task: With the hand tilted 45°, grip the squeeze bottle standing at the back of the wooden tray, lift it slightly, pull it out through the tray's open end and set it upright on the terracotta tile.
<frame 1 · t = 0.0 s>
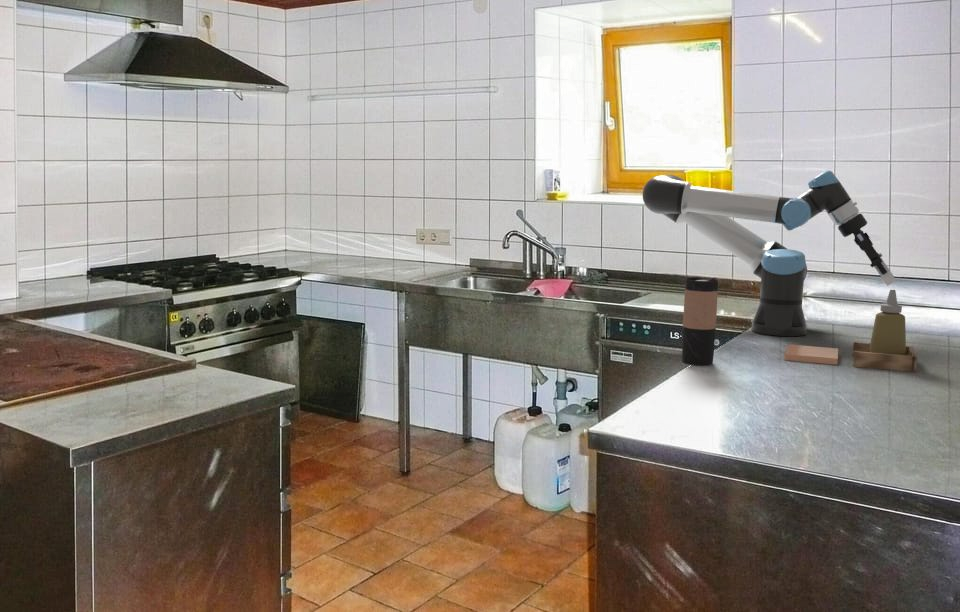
hand: (890, 280, 258), 15 cm above the worktop, tool tilted 35°, fingers open, 13 cm apart
terracotta tile: (811, 357, 223), on the worktop
squeeze bottle: (886, 364, 217), resting in wooden tray
wooden tray: (881, 363, 217), on the worktop
travel mug: (697, 363, 214), on the worktop
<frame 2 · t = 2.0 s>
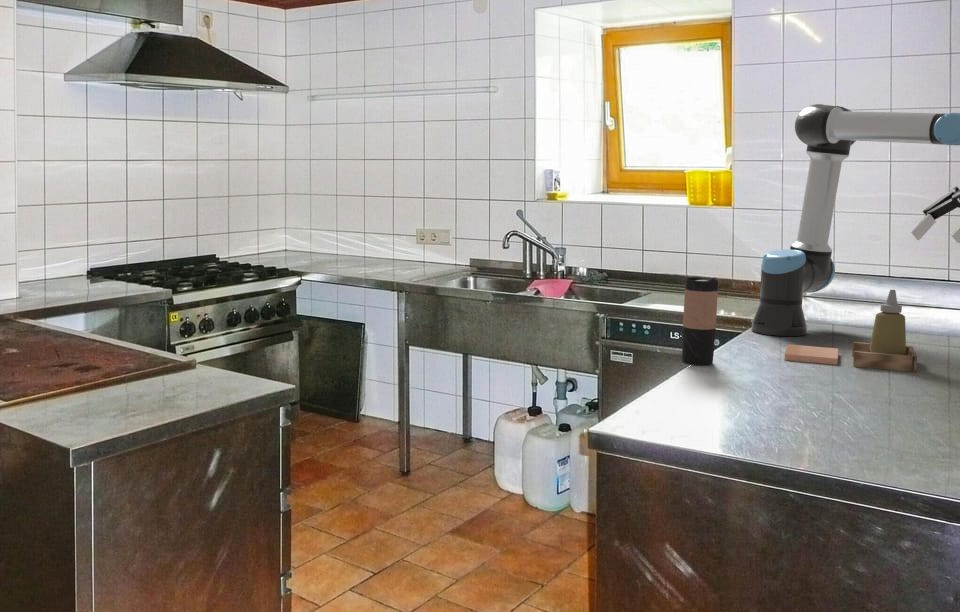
hand: (934, 237, 219), 30 cm above the worktop, tool tilted 45°, fingers open, 13 cm apart
nothing on the worktop moved.
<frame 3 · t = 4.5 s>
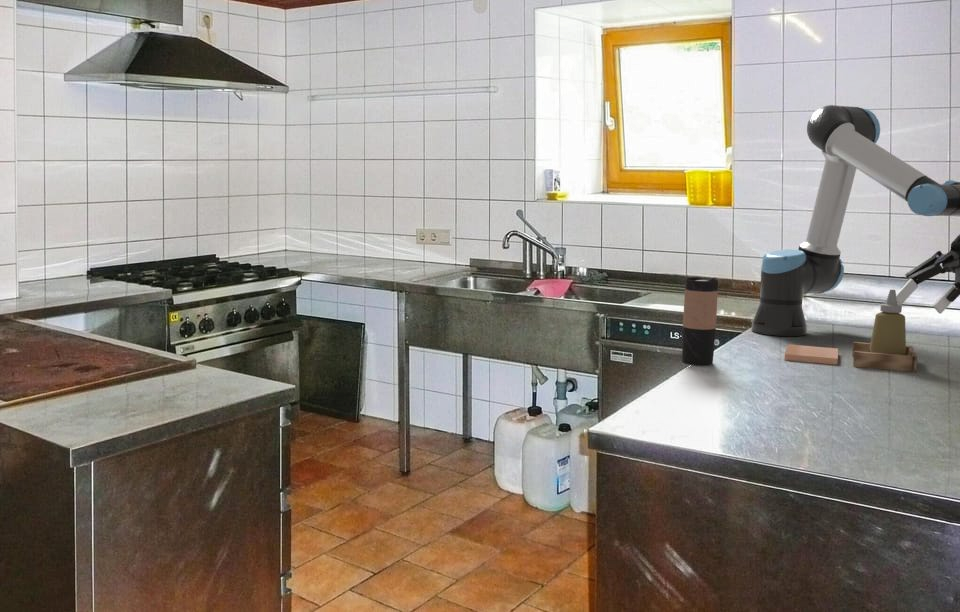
hand: (915, 305, 215), 14 cm above the worktop, tool tilted 45°, fingers open, 13 cm apart
nothing on the worktop moved.
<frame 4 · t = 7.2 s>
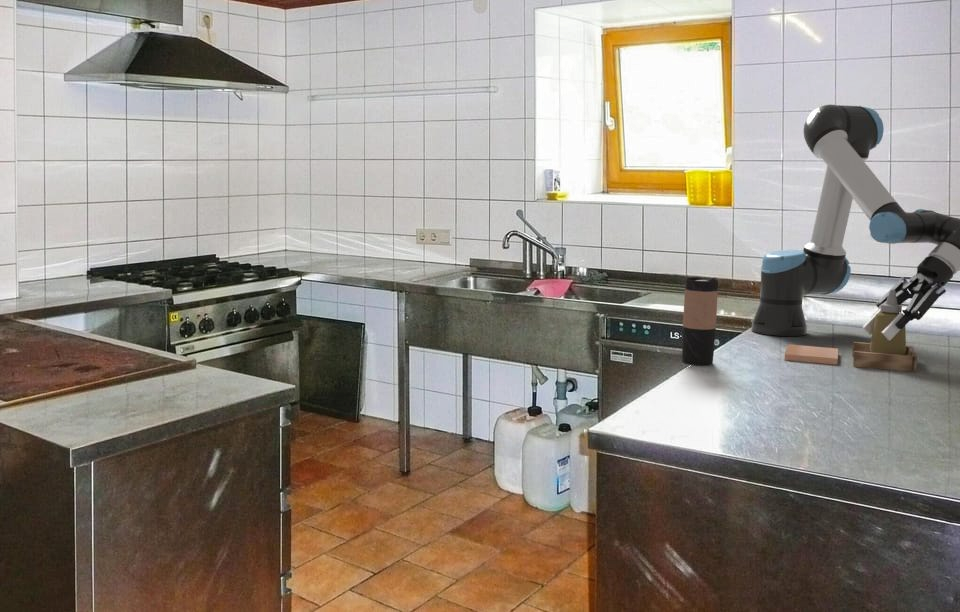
hand: (876, 333, 215), 7 cm above the worktop, tool tilted 45°, fingers closed on squeeze bottle, 6 cm apart
squeeze bottle: (886, 364, 217), resting in wooden tray, touching gripper
everything else where it was.
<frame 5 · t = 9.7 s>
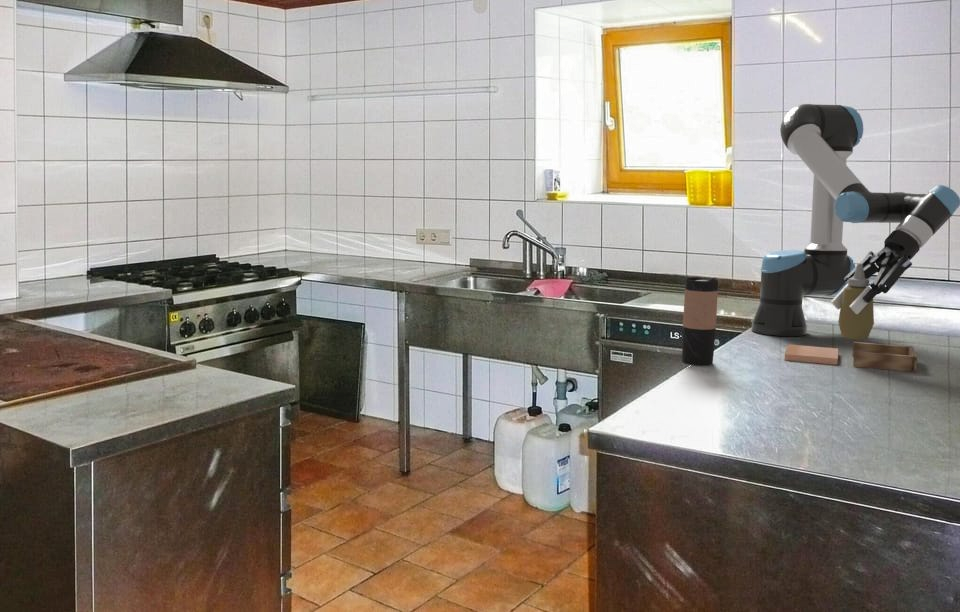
hand: (844, 307, 216), 13 cm above the worktop, tool tilted 45°, fingers closed on squeeze bottle, 6 cm apart
squeeze bottle: (854, 338, 218), point 6 cm above the worktop, touching gripper
everything else where it was.
when the fingers open (10 cm above the worktop, at t = 12.2 s): squeeze bottle drops 1 cm, resting on terracotta tile.
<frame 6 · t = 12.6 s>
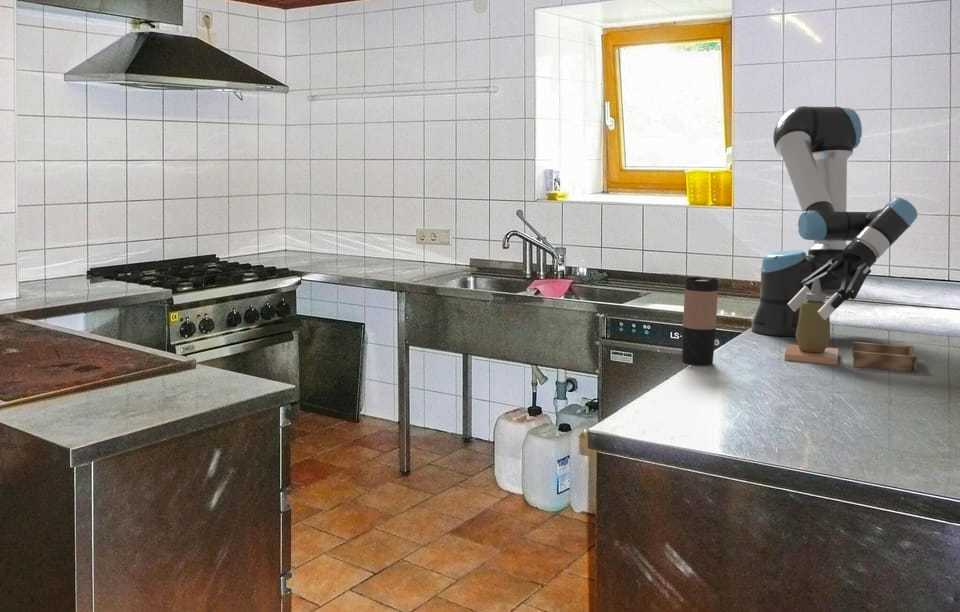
hand: (805, 311, 221), 11 cm above the worktop, tool tilted 45°, fingers open, 12 cm apart
squeeze bottle: (811, 351, 223), point 1 cm above the worktop, touching terracotta tile
everything else where it was.
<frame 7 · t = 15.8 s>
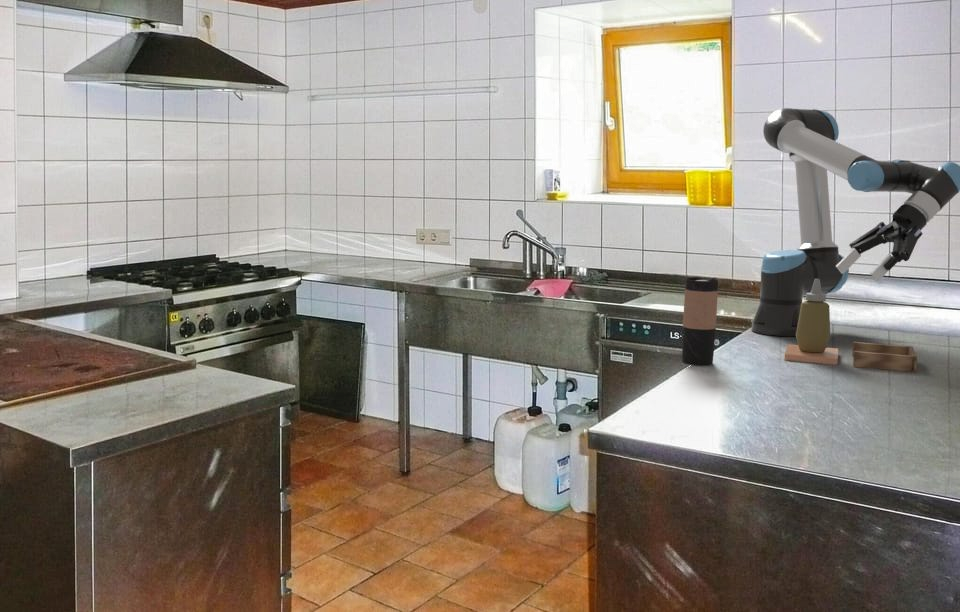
hand: (856, 273, 222), 21 cm above the worktop, tool tilted 45°, fingers open, 13 cm apart
nothing on the worktop moved.
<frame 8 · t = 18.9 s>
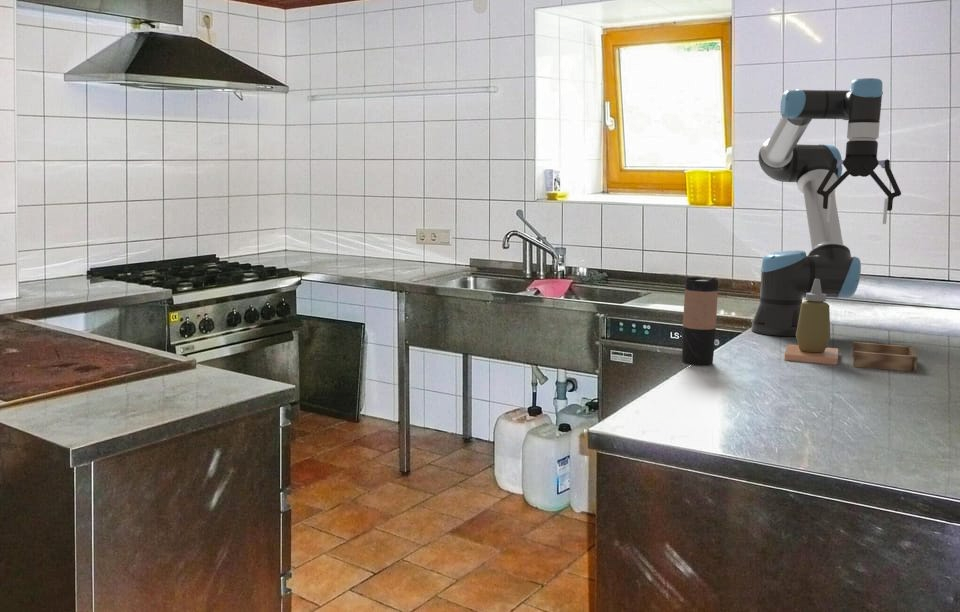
hand: (855, 222, 235), 33 cm above the worktop, tool pointing down, fingers open, 13 cm apart
nothing on the worktop moved.
at the end: squeeze bottle inside the target area on the terracotta tile (0.2 cm from its centre), point 1.3 cm above the terracotta tile's base; squeeze bottle tilted 0°; the gripper is holding nothing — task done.
